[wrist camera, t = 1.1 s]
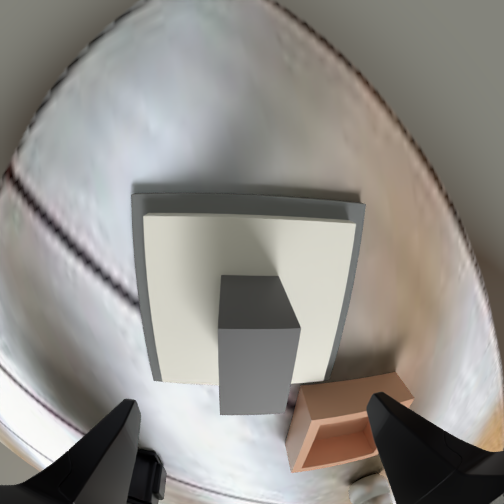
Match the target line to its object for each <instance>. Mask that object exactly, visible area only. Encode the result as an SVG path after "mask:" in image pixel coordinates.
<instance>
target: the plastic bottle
mask: <svg viewBox="0 0 504 504" xmlns="http://www.w3.org/2000/svg"><path fill="white" fill-rule="evenodd" d="M348 492H349V499H350V501H351V502H352V504H393V502H392V499H391V496H390V490H389V485H388V482H387V480H386V479H385V478H384V476H382V475H380V474H373V475H370V476H367V477H364V478H362V479H360V480H358V481H356V482H355V483H353V484H352V485H351V486H350V488H349V491H348Z"/></svg>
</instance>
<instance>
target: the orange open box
mask: <svg viewBox="0 0 504 504" xmlns="http://www.w3.org/2000/svg"><path fill="white" fill-rule="evenodd" d="M377 392H384V393H386V394H387V395H389V396H390V397H392V398H393V399H395V400H396V401H398V402H399V403H401V404H403V405H404V406H406V407H407V408H409V407H410V405H411V403H412V402H413V400H414V397H413V396H412V394H411V393H410V391H409V390H408V388H407V387H406V386H405V384H404V383H403V381H402V380H401V379H400V377H399V376H398V375H397V373H396V372H392V373H387V374H382V375H377V376H371V377H365V378H359V379H353V380H346V381H339V382H331V383H322V384H312V385H301V386H300V390H299V394H298V398H297V402H296V405H295V409H294V413H293V417H292V421H291V424H290V428H289V431H288V435H287V438H286V442H285V446H286V451H287V456H288V460H289V465H290V470H291V473H294V472H302V471H309V470H315V469H321V468H326V467H331V466H336V465H341V464H345V463H349V462H353V461H357V460H361V459H365V458H369V457H372V456H375V455H377V454H378V450H377V447H376V445H375V442H374V439H373V435H372V431H371V427H370V423H369V419H368V415H367V411H366V408H367V404H368V402H369V400H370V398H371V396H372V394H373V393H377Z"/></svg>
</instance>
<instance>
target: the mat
mask: <svg viewBox="0 0 504 504" xmlns="http://www.w3.org/2000/svg"><path fill="white" fill-rule="evenodd" d="M131 199H132V228H133V245H134V258H135V269H136V278H137V287H138V295H139V303H140V310H141V317H142V323H143V329H144V335H145V341H146V346H147V351H148V356H149V361H150V366H151V371H152V375H153V379H154V381H161V382H163V381H162V376H161V371H160V366H159V361H158V355H157V349H156V343H155V337H154V331H153V324H152V317H151V309H150V301H149V292H148V282H147V271H146V259H145V244H144V223H143V216H144V215H146V214H148V213H211V214H245V215H270V216H291V217H309V218H325V219H340V220H349V221H351V222H353V223H355V224H356V228H355V235H354V242H353V249H352V255H351V261H350V267H349V273H348V278H347V284H346V289H345V294H344V299H343V304H342V309H341V313H340V318H339V322H338V326H337V331H336V335H335V339H334V343H333V347H332V351H331V355H330V358H329V362H328V366H327V369H326V373H325V376H324V380H329V379H330V376H331V373H332V369H333V366H334V362H335V359H336V355H337V352H338V348H339V344H340V340H341V337H342V333H343V329H344V324H345V320H346V316H347V312H348V307H349V303H350V298H351V293H352V288H353V283H354V278H355V273H356V268H357V262H358V256H359V250H360V244H361V237H362V230H363V223H364V215H365V207H366V204H363V203H358V202H348V201H338V200H327V199H315V198H302V197H287V196H270V195H249V194H219V193H135V194H132V195H131ZM324 380H323V381H324Z"/></svg>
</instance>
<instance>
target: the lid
mask: <svg viewBox="0 0 504 504" xmlns="http://www.w3.org/2000/svg"><path fill="white" fill-rule="evenodd" d="M143 223H144V244H145V259H146V271H147V282H148V292H149V301H150V309H151V317H152V324H153V331H154V337H155V343H156V349H157V355H158V361H159V366H160V371H161V376H162V381H163V382H170V383H182V384H199V385H219V400H220V415H262V414H280V413H285V410H286V405H287V400H288V396H289V391H290V386H291V384H293V383H306V382H317V381H323V380H324V376H325V373H326V369H327V366H328V362H329V358H330V355H331V351H332V347H333V343H334V339H335V335H336V331H337V326H338V322H339V318H340V313H341V309H342V304H343V299H344V294H345V289H346V284H347V278H348V273H349V267H350V261H351V255H352V249H353V242H354V235H355V228H356V224H355V223H353V222H351V221H349V220H340V219H325V218H309V217H291V216H270V215H245V214H211V213H148V214H146V215H144V216H143Z"/></svg>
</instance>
